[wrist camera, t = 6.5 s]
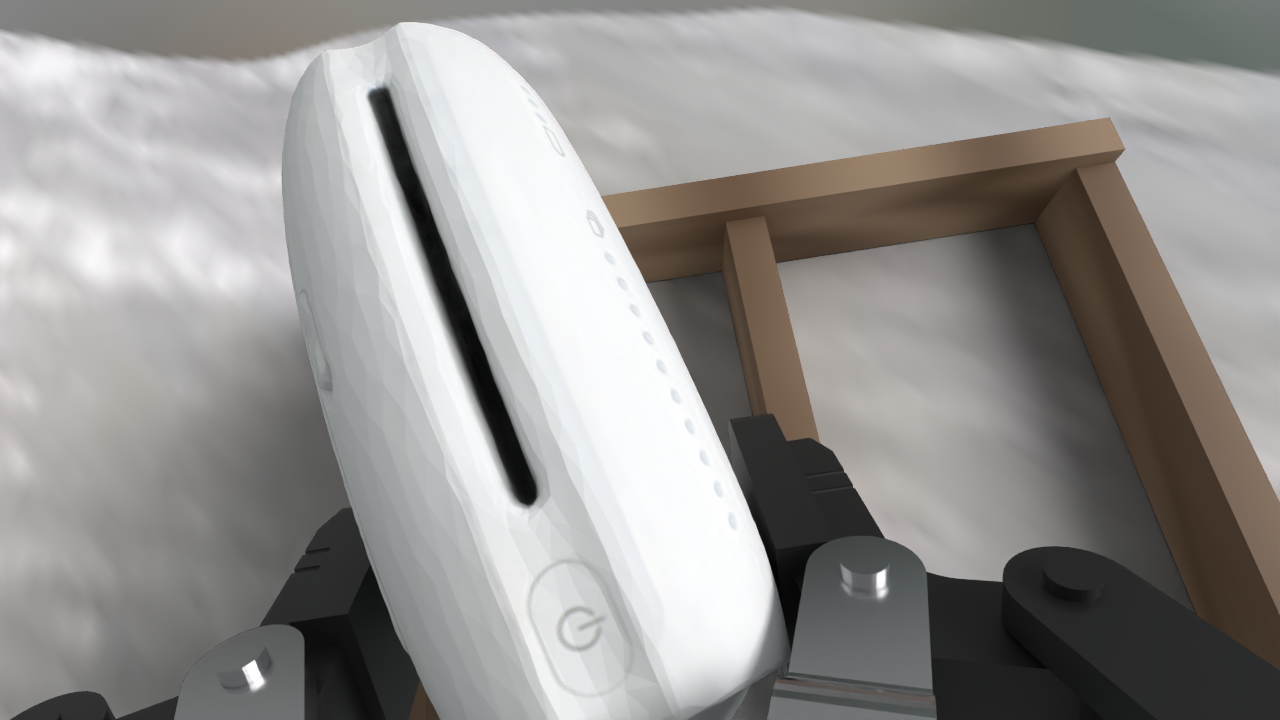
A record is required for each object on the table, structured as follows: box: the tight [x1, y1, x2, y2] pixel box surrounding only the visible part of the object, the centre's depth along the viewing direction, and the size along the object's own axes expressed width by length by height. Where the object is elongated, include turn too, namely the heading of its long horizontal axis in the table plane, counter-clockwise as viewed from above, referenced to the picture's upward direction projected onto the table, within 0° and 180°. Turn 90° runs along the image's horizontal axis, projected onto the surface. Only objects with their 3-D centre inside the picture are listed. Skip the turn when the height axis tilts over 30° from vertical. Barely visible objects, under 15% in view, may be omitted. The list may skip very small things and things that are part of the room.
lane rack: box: [408, 117, 1280, 720], centre depth 18 cm, size 19×14×3 cm
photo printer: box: [282, 22, 791, 720], centre depth 13 cm, size 10×4×12 cm, turn 23°
